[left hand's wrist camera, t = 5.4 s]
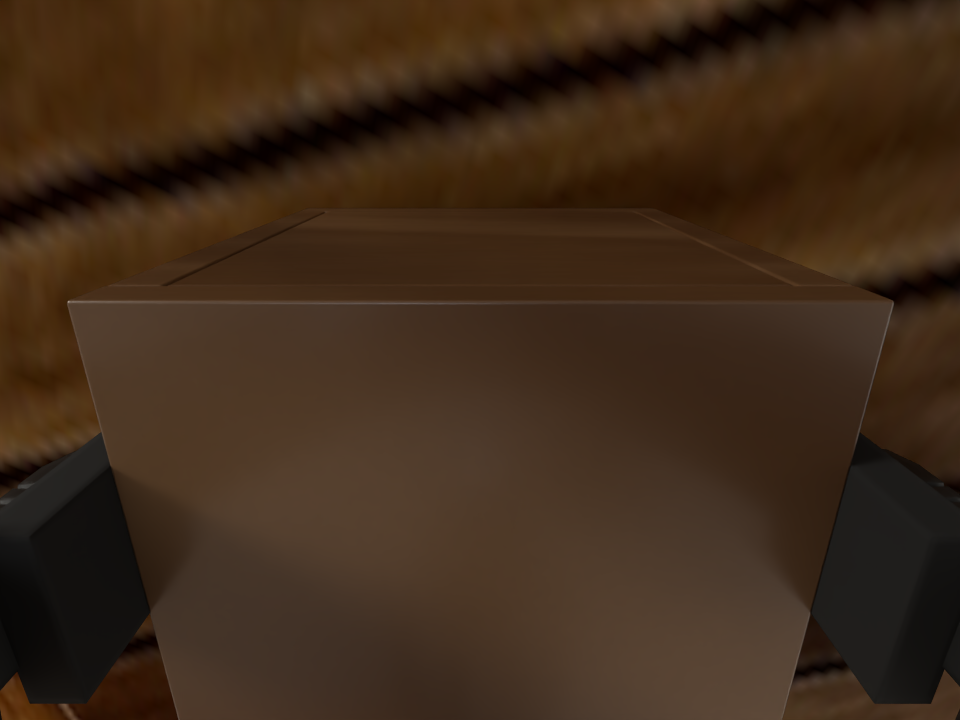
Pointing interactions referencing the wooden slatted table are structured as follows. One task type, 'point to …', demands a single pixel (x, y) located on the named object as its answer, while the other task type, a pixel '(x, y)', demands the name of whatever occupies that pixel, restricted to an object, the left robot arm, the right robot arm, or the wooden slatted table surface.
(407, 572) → the cabinet
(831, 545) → the left robot arm
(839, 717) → the wooden slatted table surface
